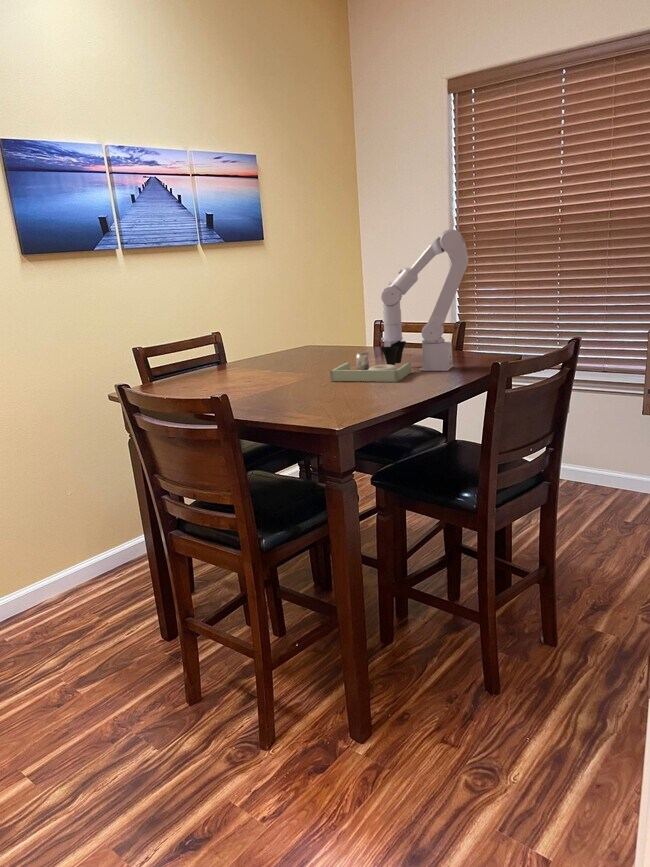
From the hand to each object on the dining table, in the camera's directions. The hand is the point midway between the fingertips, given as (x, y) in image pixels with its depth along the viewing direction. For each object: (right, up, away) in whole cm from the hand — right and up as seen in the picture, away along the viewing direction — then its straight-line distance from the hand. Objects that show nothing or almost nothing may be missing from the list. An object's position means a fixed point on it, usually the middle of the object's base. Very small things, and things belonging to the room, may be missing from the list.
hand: (394, 365), depth 217 cm
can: (-10, -1, +4) cm, 11 cm away
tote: (-8, -5, -9) cm, 13 cm away
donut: (-5, -2, -7) cm, 9 cm away
